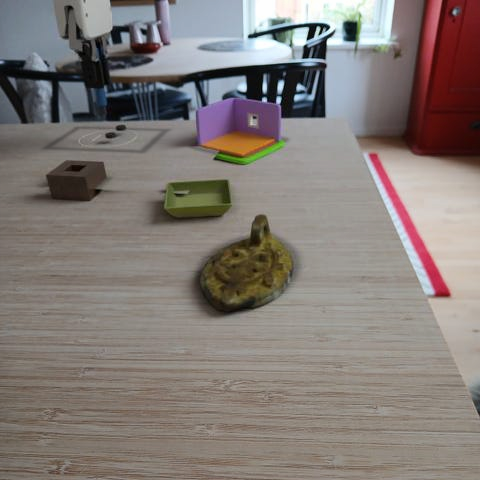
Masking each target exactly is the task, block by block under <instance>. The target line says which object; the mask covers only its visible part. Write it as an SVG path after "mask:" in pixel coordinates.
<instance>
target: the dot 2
mask: <svg viewBox="0 0 480 480" xmlns="http://www.w3.org/2000/svg"><path fill="white" fill-rule="evenodd" d="M115 129H116V130H115V131H117V132H123V131H124V130H127V126H126V125H125V124H118V125H116V126H115Z"/></svg>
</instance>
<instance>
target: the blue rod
mask: <svg viewBox="0 0 480 480" xmlns="http://www.w3.org/2000/svg"><path fill="white" fill-rule="evenodd" d="M96 50H97V55H98V61H100V58H99V52H98V48H96ZM93 89H94V94H95V99H96V105H97V107H99V112H100V115H101V116H106V115H108V113H107V108H106V106H107V105H108V102H107V101H108V100H107V96H106V89H105V87H104V88H102V89H98V88H93Z"/></svg>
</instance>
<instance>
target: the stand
mask: <svg viewBox="0 0 480 480" xmlns="http://www.w3.org/2000/svg"><path fill="white" fill-rule="evenodd" d="M45 177H46V182H47V185H48V189H49V194H50V196H51V199H52V200H53V199H54V200H71V201H72V200H73V201H85V202H86V201H87V202H90V201H92V200H93V199H94V198H96V197H97V196H98V195H99V194H100V193H101V192H102V191H103V188H98V186H100V185H101V184H102V183H103V182H104V181H105V180H106V179H107V178H108V177H107V171H106V167H105V162H104V161H100V160H99V161H96V160H95V161H94V160H72V159H66V160H64V161H63V162H62V163H60V164H59V165H58V166H56V167H55V168H53V169H52V170H50V171H49V172H48V173H46V174H45Z"/></svg>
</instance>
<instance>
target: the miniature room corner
mask: <svg viewBox="0 0 480 480" xmlns="http://www.w3.org/2000/svg"><path fill="white" fill-rule="evenodd" d="M254 117H255V118H256V123H253V121H254V119H253V118H254ZM195 127H196V138H197V145H198V146H199V147H202V148H207V149H211V150H215V151H217V153H216V154H215V156H214V157H213V158H214V159H218V160H222V161H225V162H229V163H234V164H239V165H247V164H249V163H253V162H254V161H257V160H259V159H261V158H263V157H265V156H267V155H269V154H271V153H273V152H275V151H277V150H279V149H281V148H283V147H285V145H286V142H285V141H284V140H282V139H281V138H282V106H281V104H279V103H274V102H269V101H268V102H267V101H263V100H262V101H261V100H255V99H248V98H242V97H229V98H226V99H225V98H224V99H222V100H219V101H216V102H213V103H211V104H208V105H205V106H202V107H200V108H198V109H196V110H195Z"/></svg>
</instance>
